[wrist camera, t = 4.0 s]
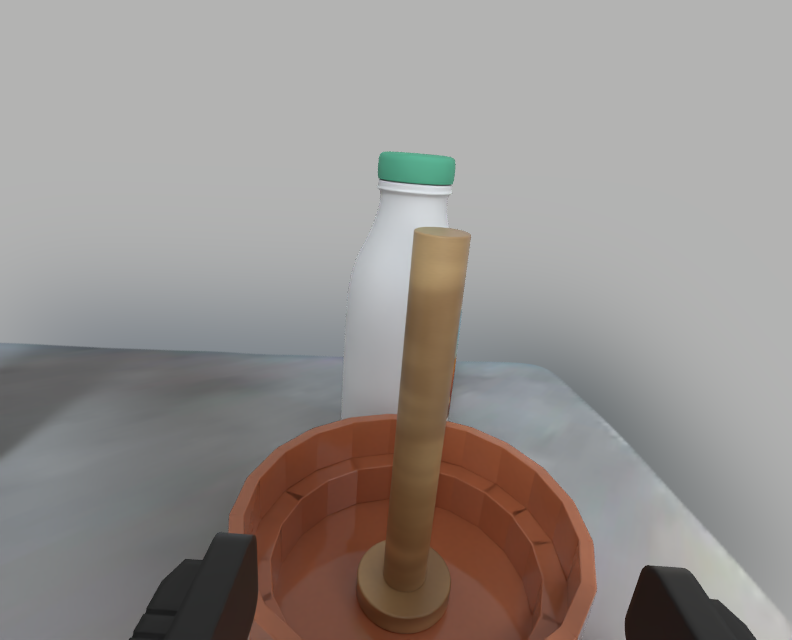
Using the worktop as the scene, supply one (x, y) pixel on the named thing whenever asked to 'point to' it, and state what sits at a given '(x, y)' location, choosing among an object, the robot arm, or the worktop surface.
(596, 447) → the worktop surface
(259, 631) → the bowl
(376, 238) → the milk bottle
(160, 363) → the worktop surface
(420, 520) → the stirring stick
